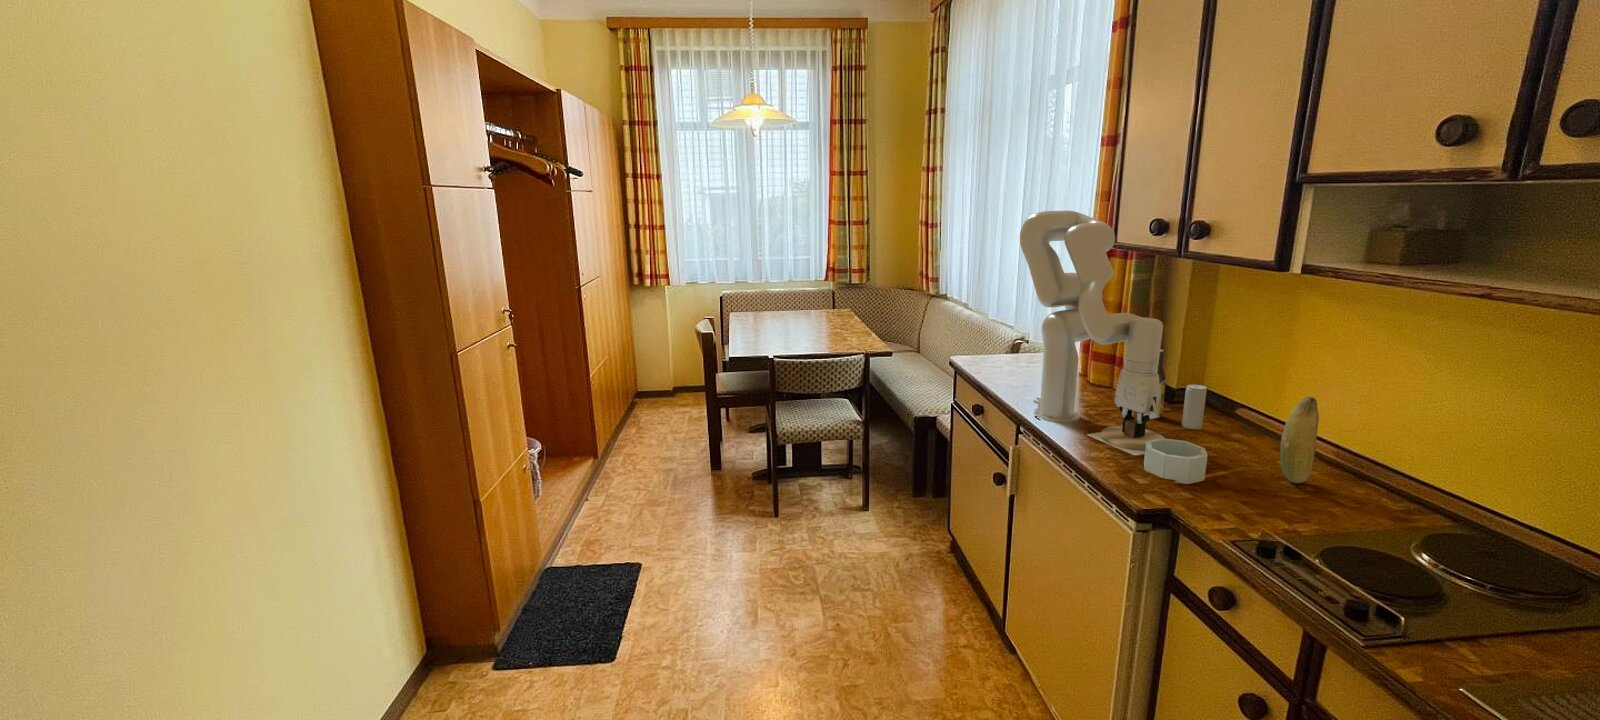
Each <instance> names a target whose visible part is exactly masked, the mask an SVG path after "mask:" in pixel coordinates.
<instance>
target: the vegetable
mask: <svg viewBox="0 0 1600 720" xmlns="http://www.w3.org/2000/svg"><path fill="white" fill-rule="evenodd" d="M1287 417H1288V418H1287V420H1286V423H1285V425H1284V428H1283V431H1282V434H1281V438H1280V439H1281V440H1280V445H1279V446H1280V447H1279V448H1280V450H1279V451H1280V452H1279V457H1280V458H1279V459H1280V467H1281V470H1282V473H1283V475H1284V476H1285V478H1286V479H1287V480H1288V481H1289V482H1290V483H1294V484H1303V483H1304V482H1306V481H1307V480H1308V479H1309V478H1310V475H1311V474H1312V472H1313V468H1314V462H1315V453H1316V447H1317V438H1318V429H1319V428H1318V427H1319V421H1320V419H1319V418H1320V415H1319V409H1318V400H1317V399H1316V398H1315V397H1313V396H1306V397H1304V398H1303V399H1302V400H1301V401H1300V402H1299V403H1298V404H1296V405H1295V406H1294V407H1293V408H1292V409H1291V411H1290V413H1289V415H1288V416H1287Z"/></svg>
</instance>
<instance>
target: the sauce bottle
mask: <svg viewBox="0 0 1600 720" xmlns="http://www.w3.org/2000/svg"><path fill="white" fill-rule="evenodd" d="M1164 356H1165V350H1164V349H1160V355H1159V363H1158V371H1157V374H1158V375H1159V384H1160V393H1159V404H1158V409H1157V410H1158V413H1159V417H1158V418H1157V419H1159V418H1162V413H1163V410H1164V401H1165V391H1166V381H1167V380H1166V373H1165V369H1164V366H1163V361H1164ZM1149 414H1150V411H1149ZM1143 416H1144V414H1143Z"/></svg>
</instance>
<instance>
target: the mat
mask: <svg viewBox="0 0 1600 720" xmlns="http://www.w3.org/2000/svg"><path fill="white" fill-rule="evenodd" d="M1101 432H1102V431H1100V432H1099V431H1098V432H1094V433H1093V432H1092V433H1088V434H1086V436H1088V437H1090V438H1093V439H1095V440H1097V441H1099V442H1102V443H1104V444H1107V445H1109V446H1111V447H1114V448H1115V449H1119V450H1121V451H1123V452H1125V453H1127V454H1130V455H1133V456H1141V455H1145V450H1134V449H1127V448H1123V447H1119V446H1116V445H1113V444H1110V443H1108V442H1106V441H1105V440H1103V438H1102V437H1101Z"/></svg>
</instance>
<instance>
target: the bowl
mask: <svg viewBox="0 0 1600 720" xmlns="http://www.w3.org/2000/svg"><path fill="white" fill-rule="evenodd" d="M1208 457H1209V455H1208V452H1207V450H1206V448H1205V447H1203V446H1200V445H1197V444H1195V443H1192V442H1190V441H1187V440H1183V439H1182V440H1181V439H1180V440H1179V439H1173V438H1165V437H1164V438H1160V439H1155V440H1149V441H1146V448H1145V454H1144V458H1143V466H1144V471H1145V472H1148V473H1150V474H1152V475H1154V476H1157V477H1158V478H1161V479H1165V480H1172V481H1171V482H1172V483H1179V484H1185V485H1190V484H1195V483H1199V482H1203V481H1205V478H1206V470H1207V462H1208Z"/></svg>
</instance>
